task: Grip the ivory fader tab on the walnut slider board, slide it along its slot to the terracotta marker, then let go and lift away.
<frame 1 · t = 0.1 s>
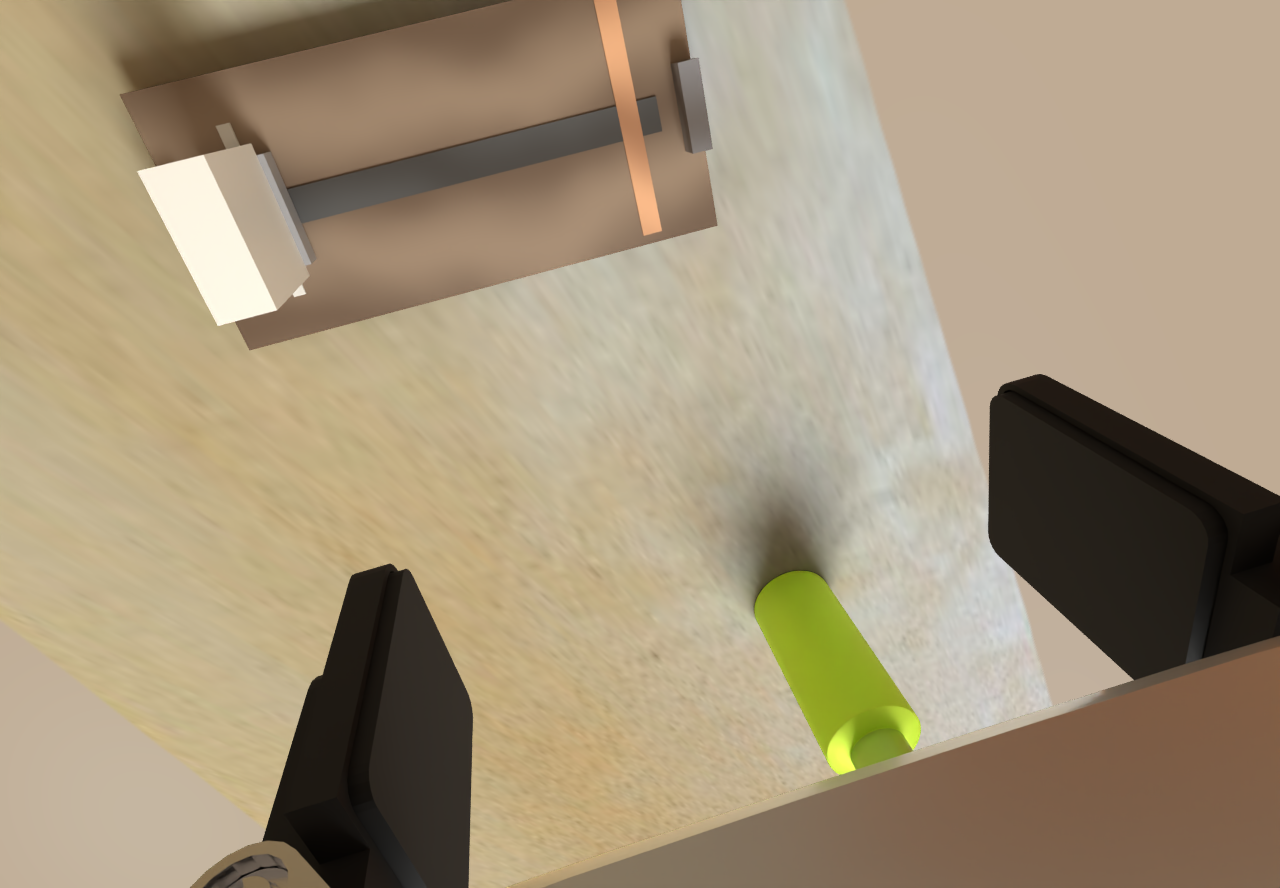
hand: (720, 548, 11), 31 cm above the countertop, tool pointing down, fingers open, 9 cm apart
fader: (239, 228, 31), point 6 cm above the countertop, slide at 0.0 cm
slider board: (451, 163, 36), on the countertop
soap dispenser: (784, 604, 54), on the countertop
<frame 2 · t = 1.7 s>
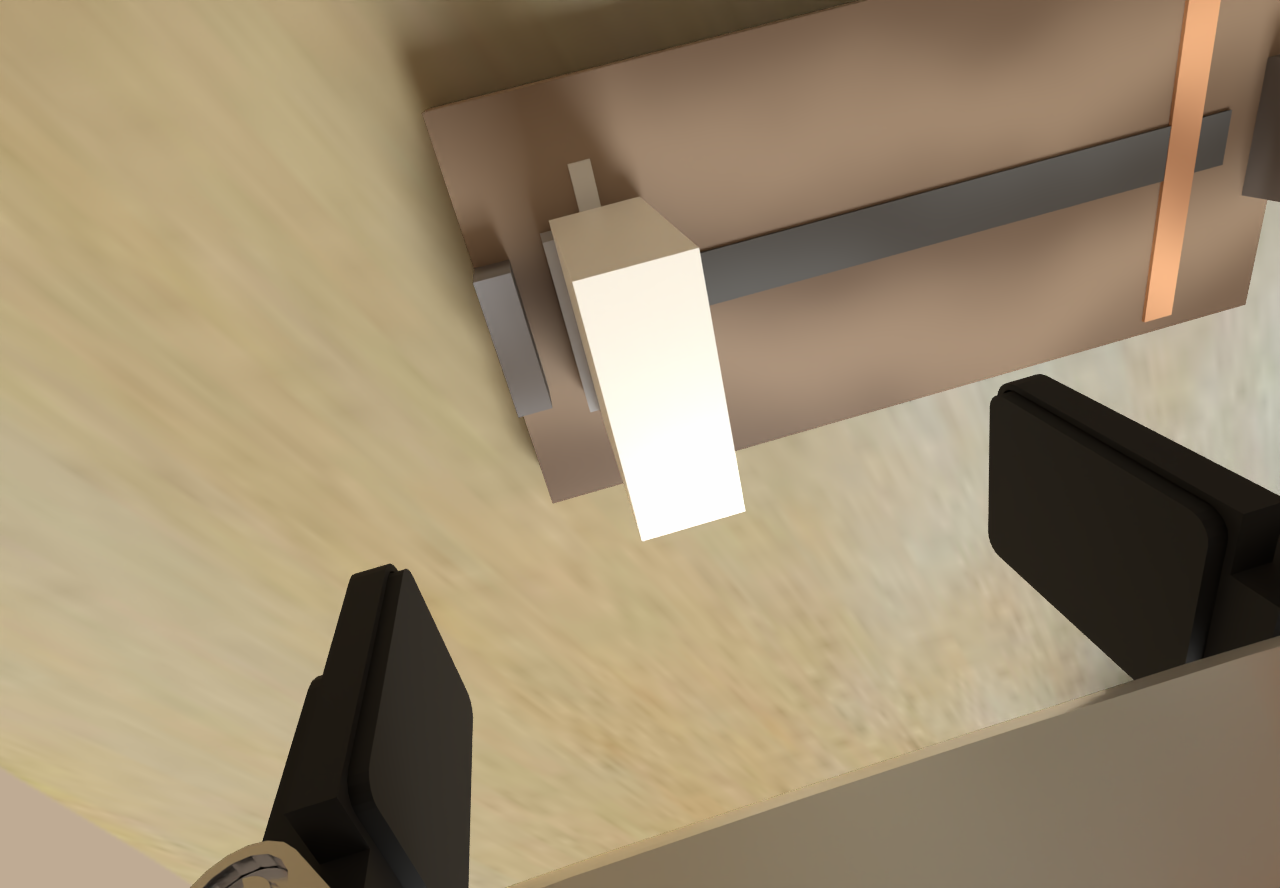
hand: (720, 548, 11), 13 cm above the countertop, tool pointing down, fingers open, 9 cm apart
fader: (636, 348, 18), point 6 cm above the countertop, slide at 0.0 cm
slider board: (872, 213, 23), on the countertop
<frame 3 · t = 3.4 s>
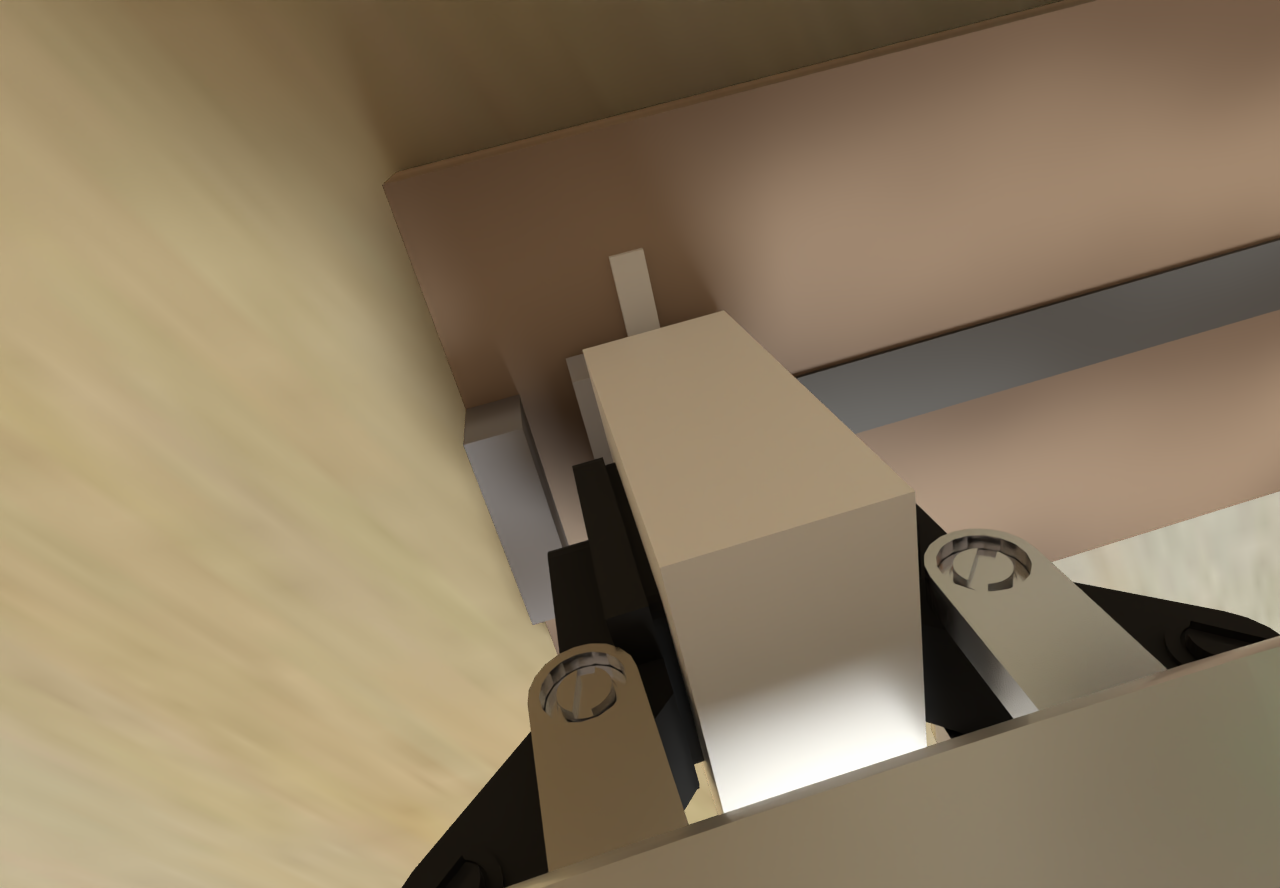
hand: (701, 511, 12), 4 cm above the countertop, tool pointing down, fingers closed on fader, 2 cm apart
fader: (725, 559, 11), point 6 cm above the countertop, slide at 0.0 cm, touching gripper
slider board: (1023, 303, 17), on the countertop
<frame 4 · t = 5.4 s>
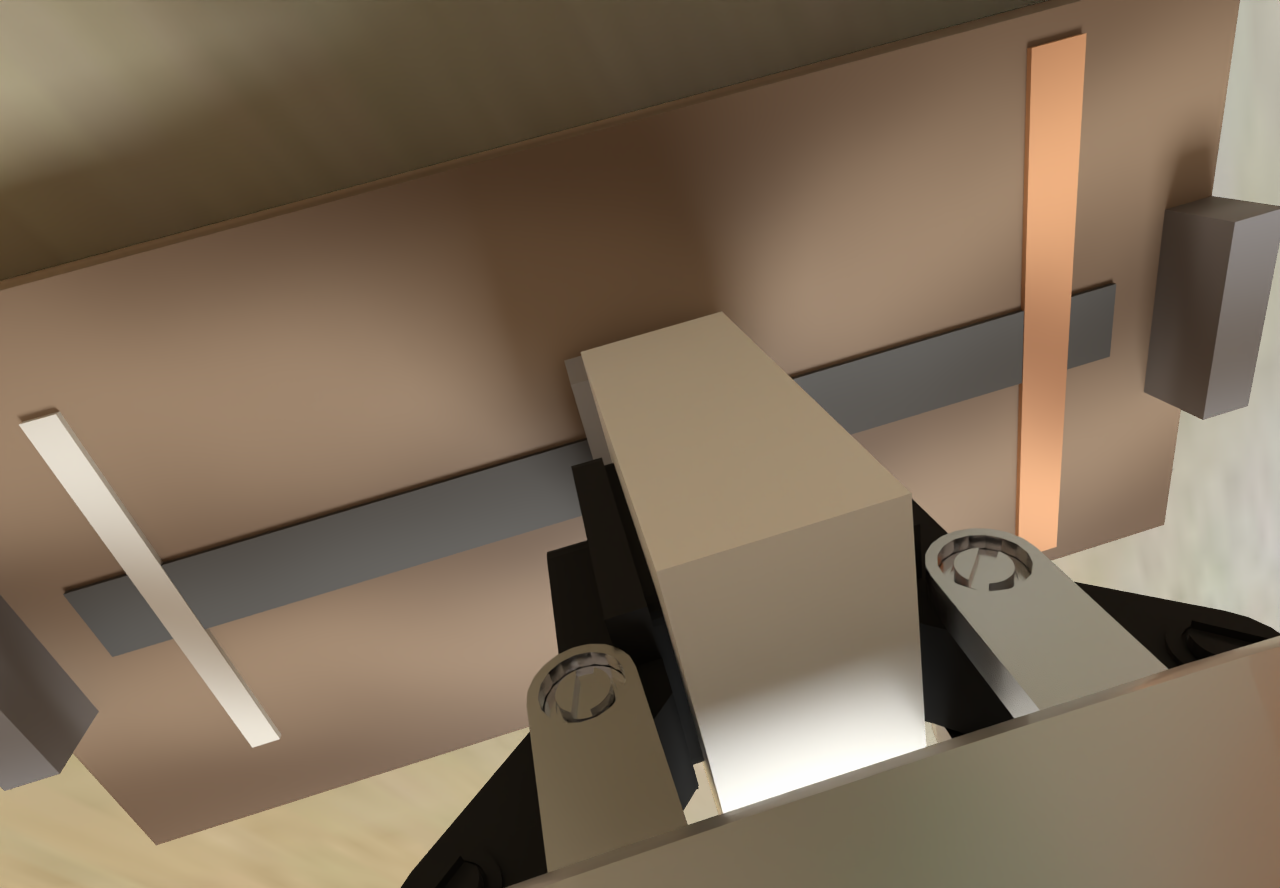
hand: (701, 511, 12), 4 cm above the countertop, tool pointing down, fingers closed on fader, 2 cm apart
fader: (725, 561, 11), point 6 cm above the countertop, slide at 10.0 cm, touching gripper
slider board: (608, 423, 16), on the countertop
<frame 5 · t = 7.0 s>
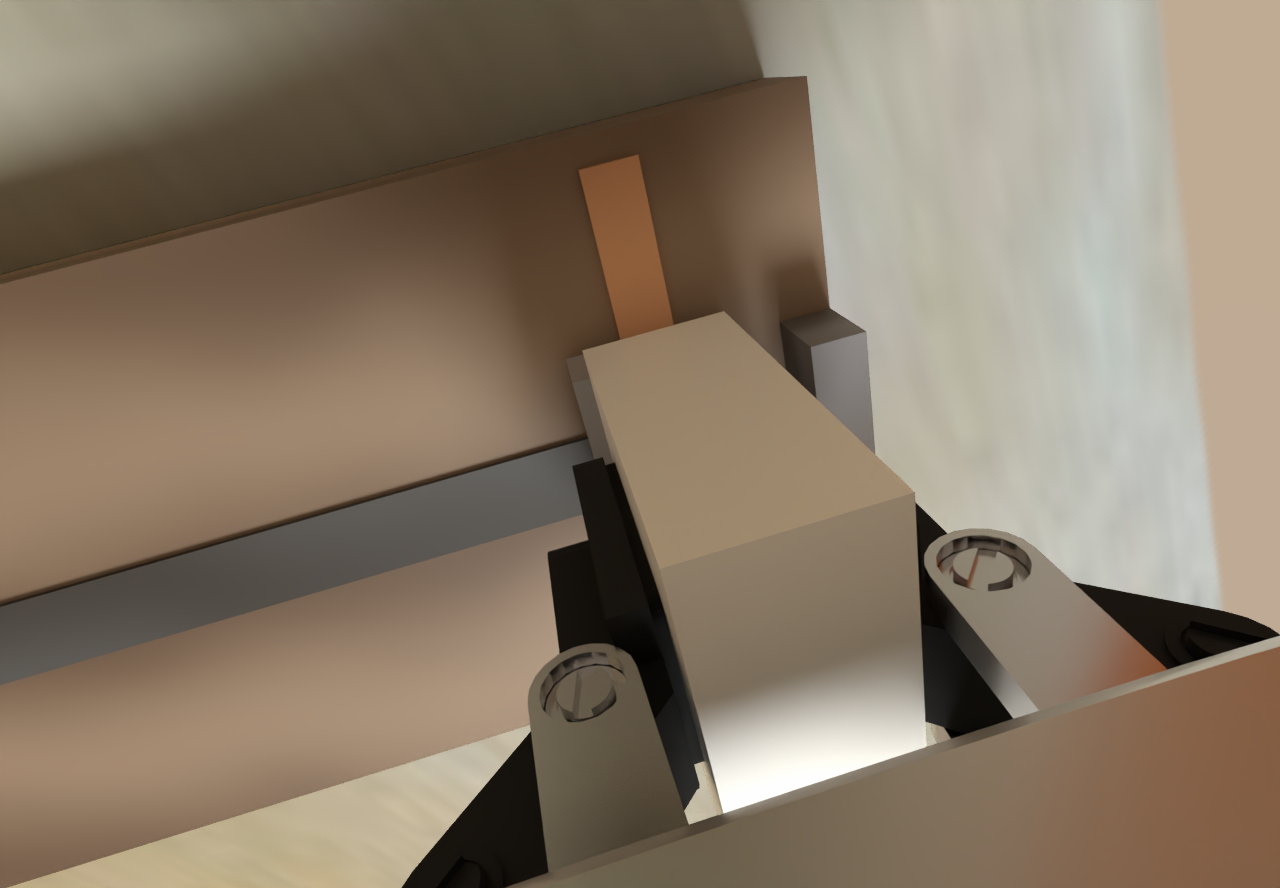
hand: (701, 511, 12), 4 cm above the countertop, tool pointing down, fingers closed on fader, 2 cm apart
fader: (725, 560, 11), point 6 cm above the countertop, slide at 17.9 cm, touching gripper
slider board: (252, 524, 16), on the countertop
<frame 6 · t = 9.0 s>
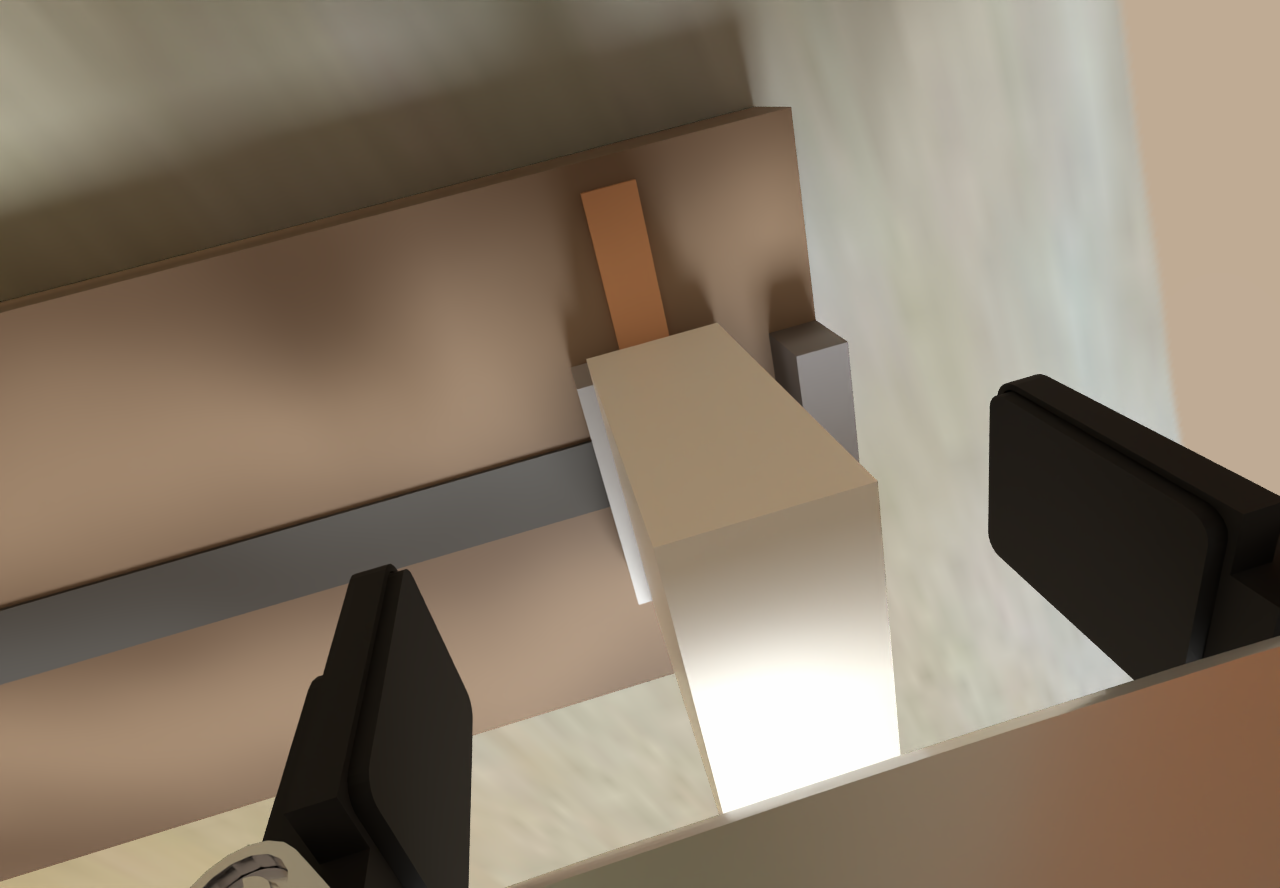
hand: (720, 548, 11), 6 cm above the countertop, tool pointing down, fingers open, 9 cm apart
fader: (718, 552, 12), point 6 cm above the countertop, slide at 18.0 cm
slider board: (273, 524, 16), on the countertop
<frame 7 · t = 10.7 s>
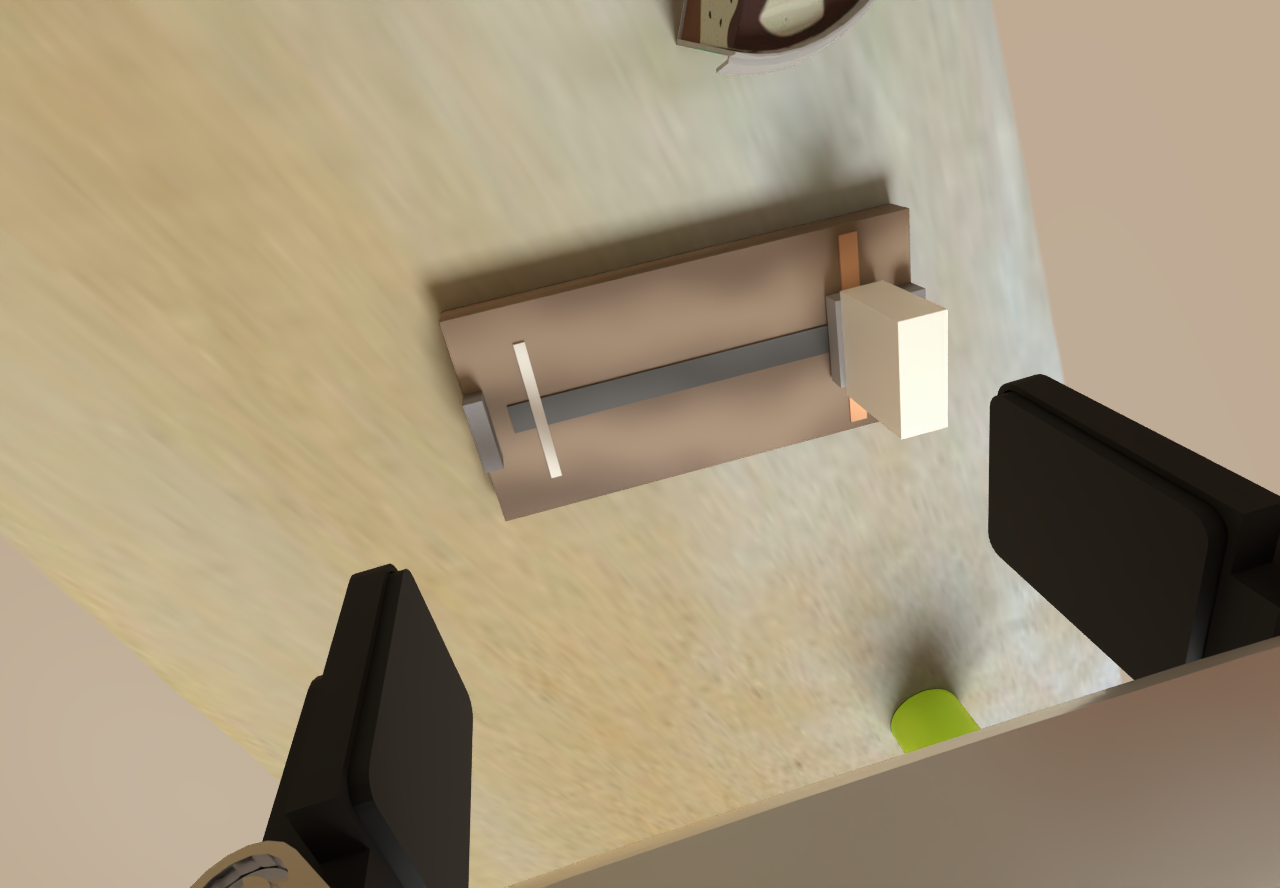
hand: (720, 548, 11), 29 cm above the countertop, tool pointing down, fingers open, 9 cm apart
fader: (886, 353, 37), point 6 cm above the countertop, slide at 18.0 cm
slider board: (689, 359, 41), on the countertop
soap dispenser: (917, 717, 58), on the countertop
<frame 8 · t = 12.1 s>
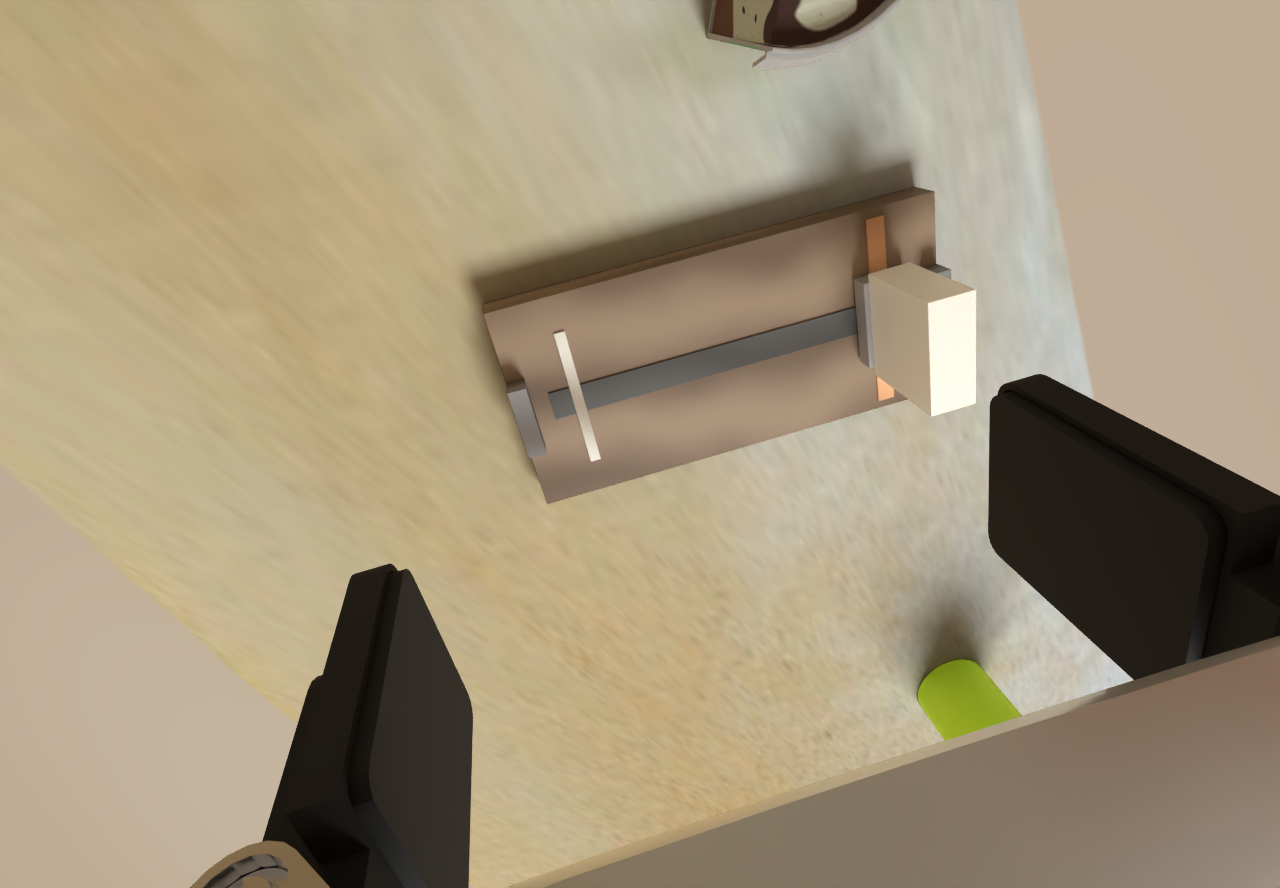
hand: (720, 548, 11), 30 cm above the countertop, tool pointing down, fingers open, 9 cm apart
fader: (914, 333, 38), point 6 cm above the countertop, slide at 18.0 cm
slider board: (721, 344, 43), on the countertop
soap dispenser: (943, 687, 60), on the countertop
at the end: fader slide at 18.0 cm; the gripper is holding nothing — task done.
